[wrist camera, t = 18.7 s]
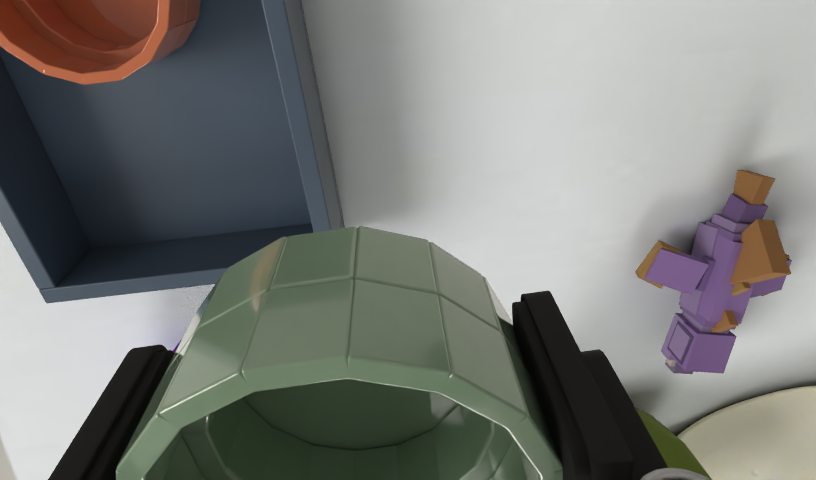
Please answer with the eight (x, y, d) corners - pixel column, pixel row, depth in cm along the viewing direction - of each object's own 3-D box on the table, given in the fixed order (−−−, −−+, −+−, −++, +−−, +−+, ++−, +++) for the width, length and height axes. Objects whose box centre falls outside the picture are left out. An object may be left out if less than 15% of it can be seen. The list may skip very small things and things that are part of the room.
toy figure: (704, 329, 33) (766, 394, 29) (592, 336, 31) (641, 408, 27) (805, 162, 27) (905, 216, 23) (672, 159, 25) (753, 217, 21)
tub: (-115, -158, 18) (-231, -184, 15) (262, -206, 18) (234, -243, 15) (88, 258, 27) (45, 304, 24) (344, 228, 27) (339, 270, 23)
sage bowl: (150, 242, 10) (23, 400, 6) (501, 191, 10) (570, 326, 6) (250, 469, 13) (204, 653, 10) (513, 433, 13) (562, 609, 10)
